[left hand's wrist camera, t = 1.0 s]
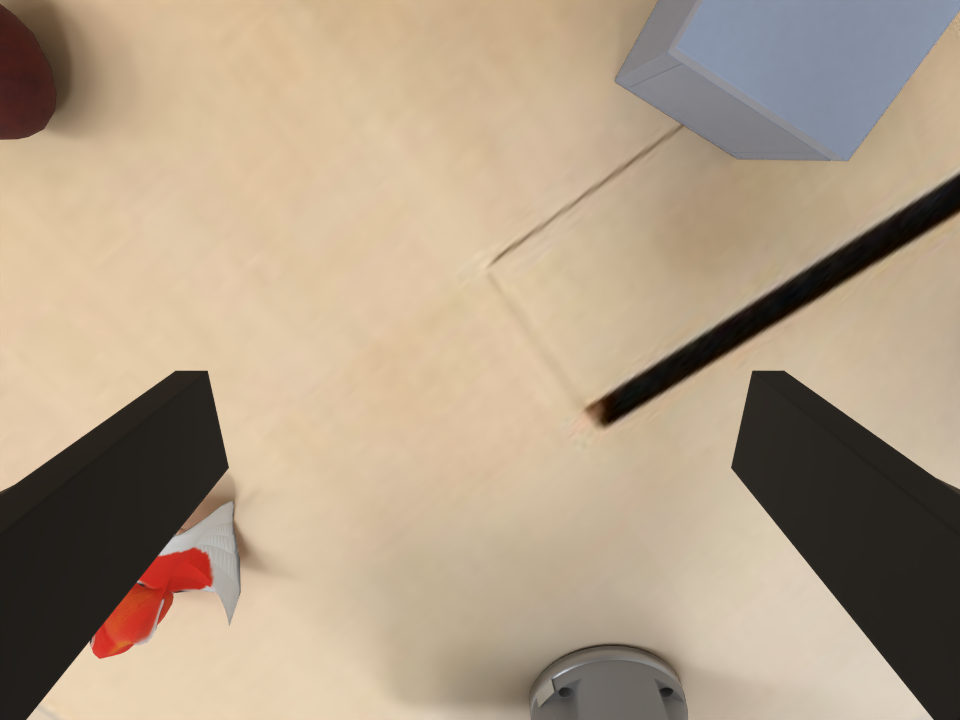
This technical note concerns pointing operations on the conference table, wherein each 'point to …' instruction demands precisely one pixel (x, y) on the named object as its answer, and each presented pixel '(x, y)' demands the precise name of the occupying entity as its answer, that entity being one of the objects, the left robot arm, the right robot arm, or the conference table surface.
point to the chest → (701, 95)
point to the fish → (176, 582)
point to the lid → (813, 59)
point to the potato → (23, 81)
